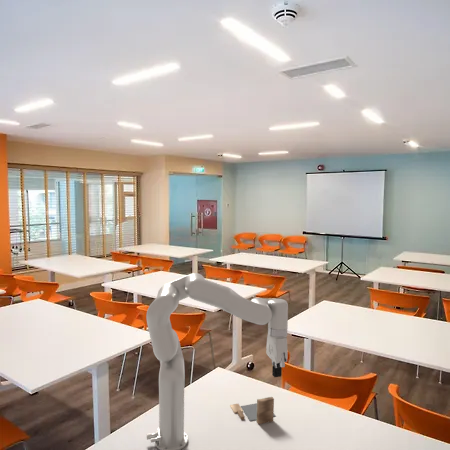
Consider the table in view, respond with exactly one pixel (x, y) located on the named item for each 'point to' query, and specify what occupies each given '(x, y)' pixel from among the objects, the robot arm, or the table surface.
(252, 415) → the mat
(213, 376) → the table surface
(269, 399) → the brown wooden block
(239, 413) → the turner
